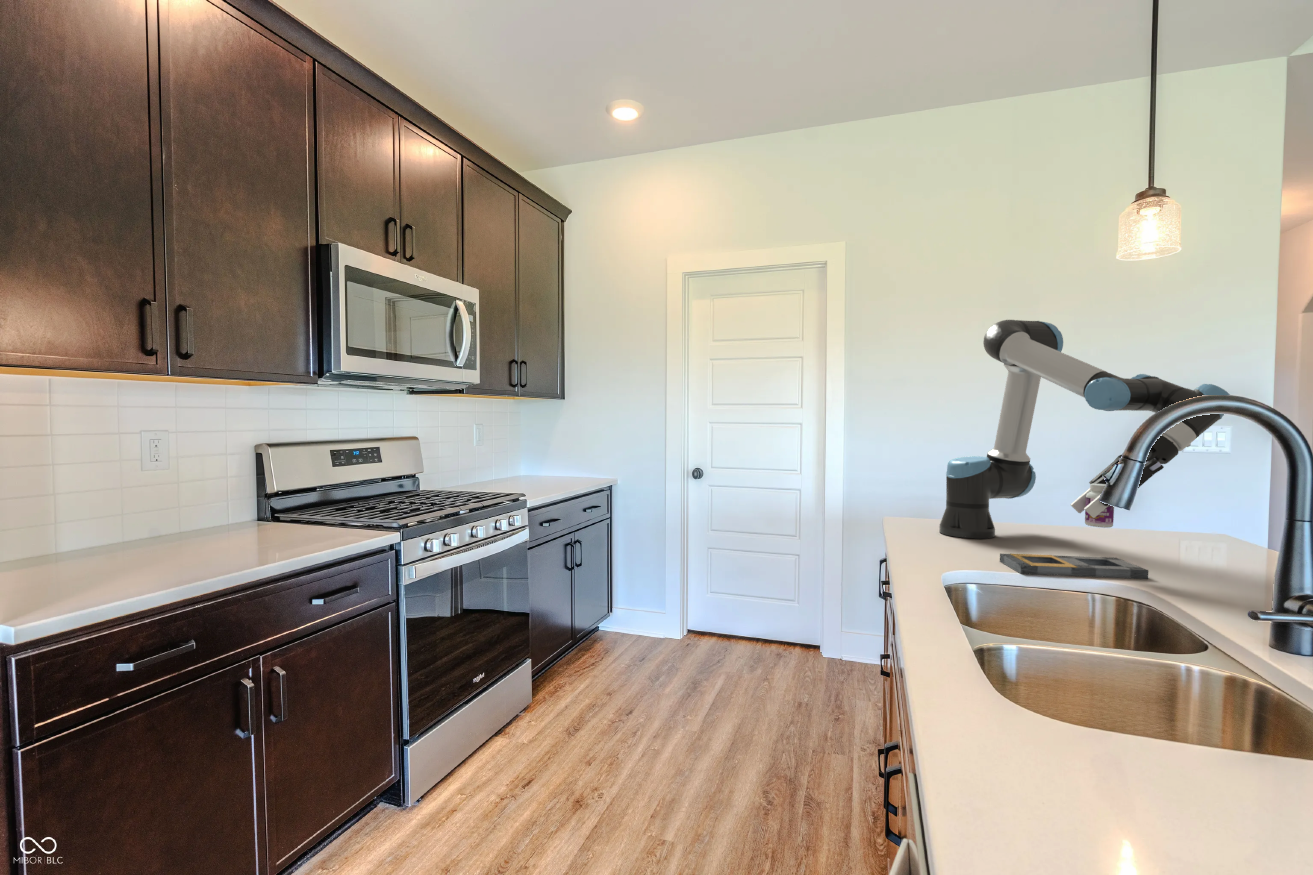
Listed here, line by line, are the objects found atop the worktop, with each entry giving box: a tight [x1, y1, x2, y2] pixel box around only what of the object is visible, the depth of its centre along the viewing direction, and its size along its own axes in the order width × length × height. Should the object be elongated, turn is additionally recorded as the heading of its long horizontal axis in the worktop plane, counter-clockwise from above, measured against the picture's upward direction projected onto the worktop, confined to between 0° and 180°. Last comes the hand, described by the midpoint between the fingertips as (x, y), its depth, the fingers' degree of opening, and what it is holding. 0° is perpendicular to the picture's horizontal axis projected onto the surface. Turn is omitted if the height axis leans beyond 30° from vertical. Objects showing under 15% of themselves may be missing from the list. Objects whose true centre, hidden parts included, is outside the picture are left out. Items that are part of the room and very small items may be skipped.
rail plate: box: [999, 553, 1149, 580], centre depth 142 cm, size 12×26×2 cm, turn 81°
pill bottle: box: [1084, 483, 1115, 529], centre depth 141 cm, size 5×5×10 cm
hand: (1082, 510), depth 141 cm, fingers closed on pill bottle, 5 cm apart
